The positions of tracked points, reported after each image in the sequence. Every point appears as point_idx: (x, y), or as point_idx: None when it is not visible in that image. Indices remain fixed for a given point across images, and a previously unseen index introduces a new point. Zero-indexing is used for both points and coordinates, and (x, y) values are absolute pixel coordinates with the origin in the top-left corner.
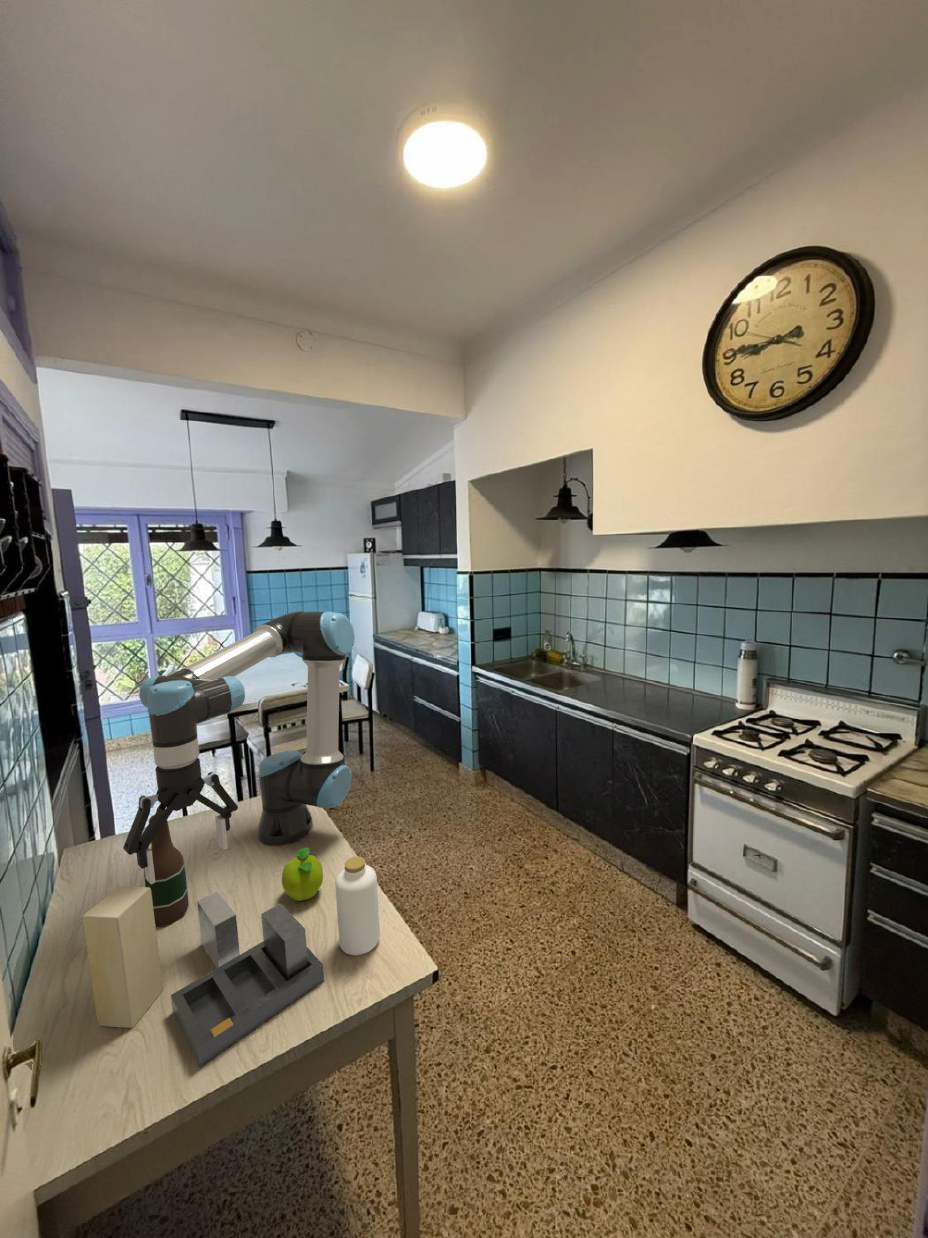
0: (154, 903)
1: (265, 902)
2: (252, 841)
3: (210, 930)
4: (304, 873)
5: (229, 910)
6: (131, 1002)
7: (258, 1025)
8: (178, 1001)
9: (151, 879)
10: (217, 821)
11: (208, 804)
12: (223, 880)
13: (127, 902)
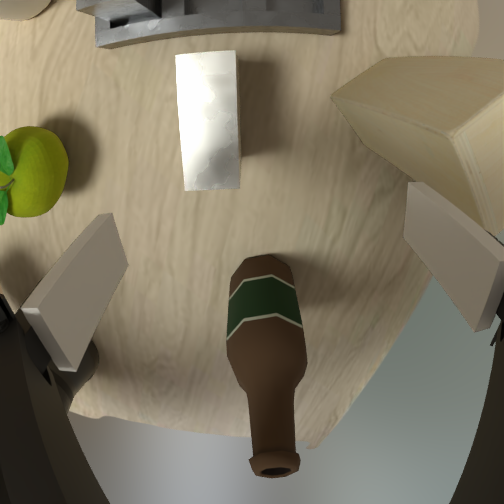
0: (294, 292)
1: (110, 190)
2: (108, 356)
3: (237, 90)
4: (13, 147)
5: (183, 83)
6: (401, 58)
7: None
8: (334, 5)
9: (429, 188)
10: (74, 337)
11: (32, 464)
12: (163, 302)
13: None
